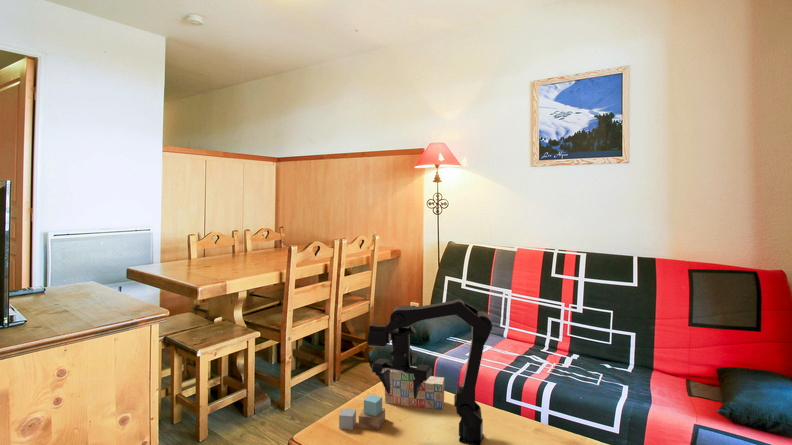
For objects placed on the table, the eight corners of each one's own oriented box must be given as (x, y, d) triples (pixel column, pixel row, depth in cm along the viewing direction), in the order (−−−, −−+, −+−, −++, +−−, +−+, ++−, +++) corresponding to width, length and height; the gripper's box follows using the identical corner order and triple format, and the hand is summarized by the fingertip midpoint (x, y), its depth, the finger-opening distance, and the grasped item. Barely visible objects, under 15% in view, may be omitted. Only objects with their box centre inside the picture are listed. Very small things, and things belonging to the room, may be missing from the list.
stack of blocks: (444, 402, 147) (444, 369, 147) (442, 410, 141) (442, 376, 141) (388, 395, 152) (388, 363, 152) (384, 403, 146) (384, 370, 146)
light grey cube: (356, 422, 132) (356, 409, 132) (352, 430, 128) (352, 416, 128) (342, 421, 133) (342, 408, 133) (339, 428, 129) (339, 415, 129)
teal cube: (382, 410, 133) (382, 397, 133) (375, 416, 129) (375, 402, 129) (370, 407, 135) (370, 394, 135) (363, 413, 131) (363, 399, 131)
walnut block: (385, 419, 135) (385, 408, 135) (379, 431, 128) (379, 418, 128) (365, 417, 136) (365, 405, 136) (358, 427, 130) (358, 415, 130)
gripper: (437, 342, 129) (437, 389, 130) (385, 336, 137) (386, 380, 137) (425, 354, 119) (426, 405, 120) (370, 346, 127) (371, 394, 127)
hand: (401, 395), depth 126 cm, fingers open, 9 cm apart
